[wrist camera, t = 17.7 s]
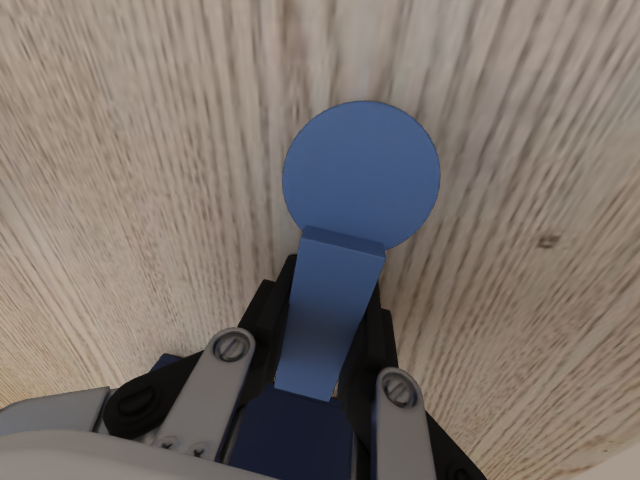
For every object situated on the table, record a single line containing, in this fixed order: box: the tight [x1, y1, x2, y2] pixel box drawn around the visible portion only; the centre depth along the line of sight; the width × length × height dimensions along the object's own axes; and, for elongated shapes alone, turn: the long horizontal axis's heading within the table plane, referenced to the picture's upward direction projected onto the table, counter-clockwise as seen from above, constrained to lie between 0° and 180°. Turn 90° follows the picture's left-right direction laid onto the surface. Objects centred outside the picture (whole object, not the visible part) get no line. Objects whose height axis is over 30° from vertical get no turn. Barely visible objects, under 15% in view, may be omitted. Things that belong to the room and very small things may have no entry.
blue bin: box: [149, 354, 351, 480], centre depth 17 cm, size 15×12×5 cm
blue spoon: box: [274, 101, 440, 402], centre depth 9 cm, size 11×4×3 cm, turn 169°
